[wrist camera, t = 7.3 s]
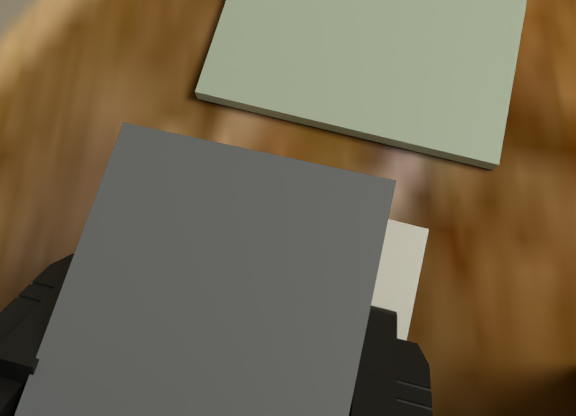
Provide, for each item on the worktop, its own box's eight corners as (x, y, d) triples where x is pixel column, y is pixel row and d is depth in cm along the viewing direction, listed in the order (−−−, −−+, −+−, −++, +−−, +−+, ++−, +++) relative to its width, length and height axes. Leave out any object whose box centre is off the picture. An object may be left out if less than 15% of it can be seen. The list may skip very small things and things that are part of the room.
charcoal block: (353, 276, 17) (396, 180, 8) (314, 461, 15) (314, 583, 7) (217, 244, 17) (123, 122, 9) (166, 419, 16) (-11, 482, 7)
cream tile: (427, 230, 20) (428, 228, 19) (369, 518, 17) (370, 520, 17) (174, 166, 20) (173, 164, 20) (83, 434, 18) (81, 435, 18)
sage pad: (535, -77, 23) (541, -88, 23) (492, 170, 20) (498, 164, 20) (275, -131, 24) (274, -143, 23) (197, 98, 21) (194, 91, 20)
